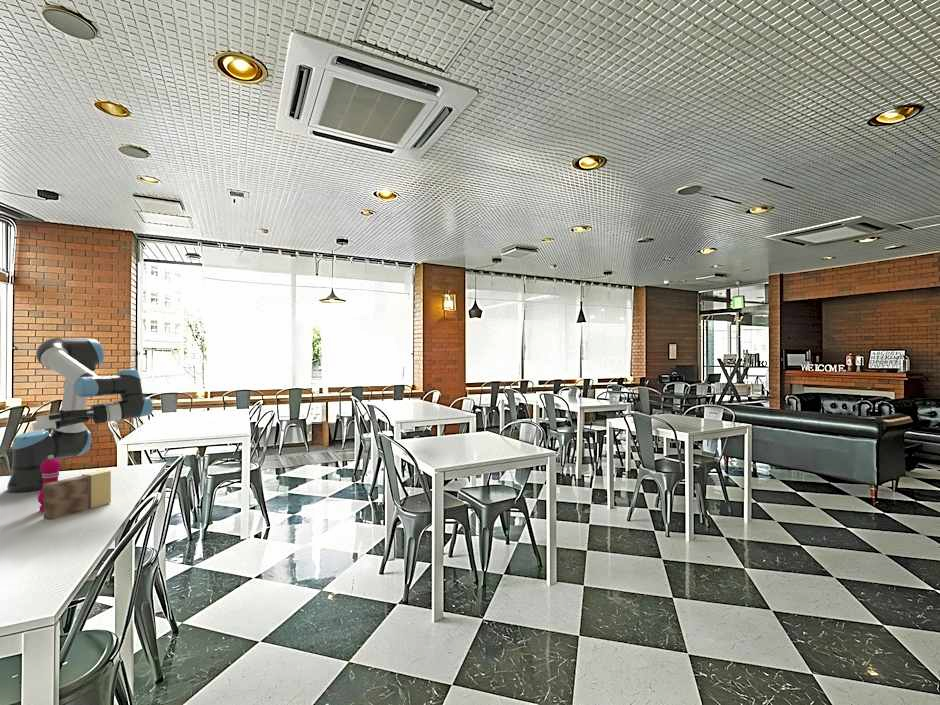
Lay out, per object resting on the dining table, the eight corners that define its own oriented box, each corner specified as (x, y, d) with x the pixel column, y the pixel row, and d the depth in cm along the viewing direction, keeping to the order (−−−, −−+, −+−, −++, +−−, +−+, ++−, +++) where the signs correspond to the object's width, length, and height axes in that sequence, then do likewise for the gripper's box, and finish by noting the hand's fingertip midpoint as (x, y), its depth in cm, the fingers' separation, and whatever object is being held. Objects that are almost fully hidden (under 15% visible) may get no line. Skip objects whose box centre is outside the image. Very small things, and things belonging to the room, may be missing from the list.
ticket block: (80, 508, 189) (80, 476, 189) (87, 509, 188) (87, 476, 188) (43, 518, 178) (43, 483, 178) (51, 520, 177) (51, 485, 176)
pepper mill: (49, 513, 184) (48, 457, 184) (32, 512, 185) (32, 456, 185) (68, 507, 191) (68, 453, 191) (52, 506, 192) (52, 452, 192)
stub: (103, 501, 197) (103, 470, 197) (110, 502, 196) (110, 470, 196) (81, 507, 190) (81, 474, 190) (89, 508, 188) (88, 475, 188)
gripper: (113, 416, 190) (39, 427, 175) (101, 427, 207) (33, 439, 192) (110, 396, 191) (36, 406, 176) (98, 409, 208) (30, 420, 193)
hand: (34, 423), depth 184 cm, fingers open, 13 cm apart
